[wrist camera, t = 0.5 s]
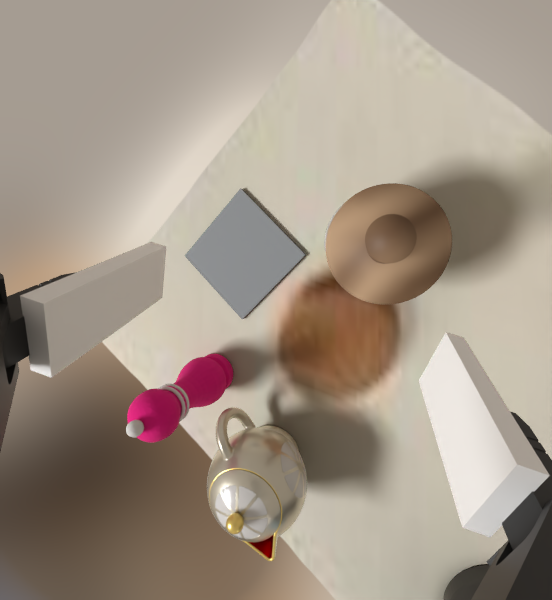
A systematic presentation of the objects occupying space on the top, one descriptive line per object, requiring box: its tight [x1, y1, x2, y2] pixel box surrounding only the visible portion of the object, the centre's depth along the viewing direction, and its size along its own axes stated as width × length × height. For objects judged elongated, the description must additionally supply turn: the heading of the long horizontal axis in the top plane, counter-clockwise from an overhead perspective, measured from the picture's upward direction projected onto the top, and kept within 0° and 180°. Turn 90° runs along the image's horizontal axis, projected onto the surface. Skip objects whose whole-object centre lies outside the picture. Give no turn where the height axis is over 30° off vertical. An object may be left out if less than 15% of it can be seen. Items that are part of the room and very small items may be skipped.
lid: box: [326, 184, 452, 304], centre depth 31 cm, size 13×13×10 cm
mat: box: [185, 189, 305, 319], centre depth 49 cm, size 14×14×1 cm
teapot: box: [207, 407, 307, 561], centre depth 44 cm, size 18×14×16 cm
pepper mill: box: [126, 354, 233, 442], centre depth 43 cm, size 7×7×20 cm
